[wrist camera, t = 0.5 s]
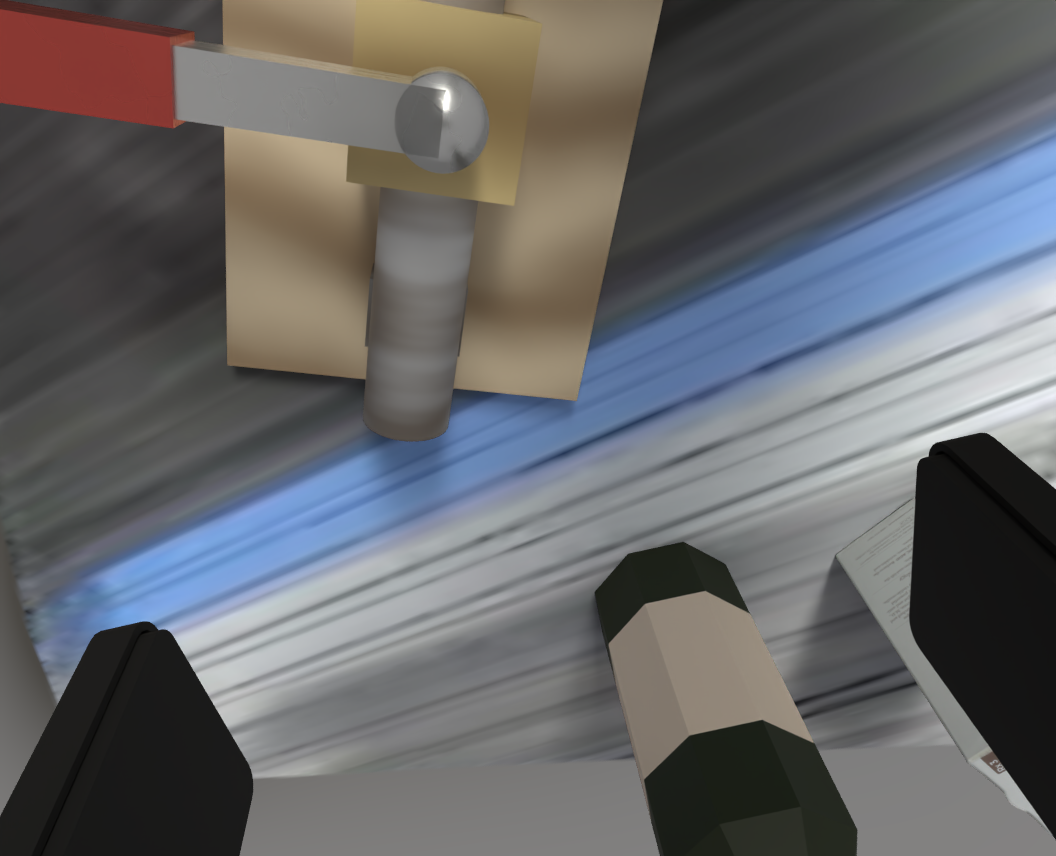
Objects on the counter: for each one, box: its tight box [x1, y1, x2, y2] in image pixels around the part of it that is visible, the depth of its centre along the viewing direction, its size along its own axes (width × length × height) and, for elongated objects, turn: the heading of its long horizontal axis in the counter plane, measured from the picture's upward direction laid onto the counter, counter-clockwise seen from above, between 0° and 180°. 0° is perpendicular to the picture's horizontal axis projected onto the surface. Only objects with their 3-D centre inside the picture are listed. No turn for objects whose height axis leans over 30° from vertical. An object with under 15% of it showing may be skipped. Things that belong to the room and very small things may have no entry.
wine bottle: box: [595, 542, 857, 856], centre depth 34 cm, size 8×8×30 cm
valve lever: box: [0, 0, 489, 174], centre depth 22 cm, size 3×14×2 cm, turn 81°
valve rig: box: [223, 0, 663, 441], centre depth 28 cm, size 26×16×10 cm, turn 171°
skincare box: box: [836, 499, 1053, 836], centre depth 41 cm, size 8×6×15 cm
